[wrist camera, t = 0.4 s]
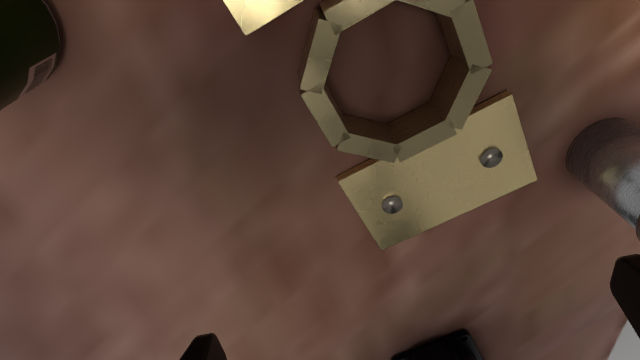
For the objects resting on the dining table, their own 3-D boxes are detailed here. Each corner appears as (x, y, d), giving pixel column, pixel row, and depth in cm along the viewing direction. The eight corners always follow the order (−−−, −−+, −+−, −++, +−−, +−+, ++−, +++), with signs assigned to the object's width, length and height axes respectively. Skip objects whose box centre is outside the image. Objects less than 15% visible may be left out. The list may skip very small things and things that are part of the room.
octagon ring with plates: (531, 174, 24) (554, 197, 22) (379, 244, 26) (387, 271, 24) (394, -282, 14) (414, -317, 12) (158, -108, 16) (139, -113, 14)
